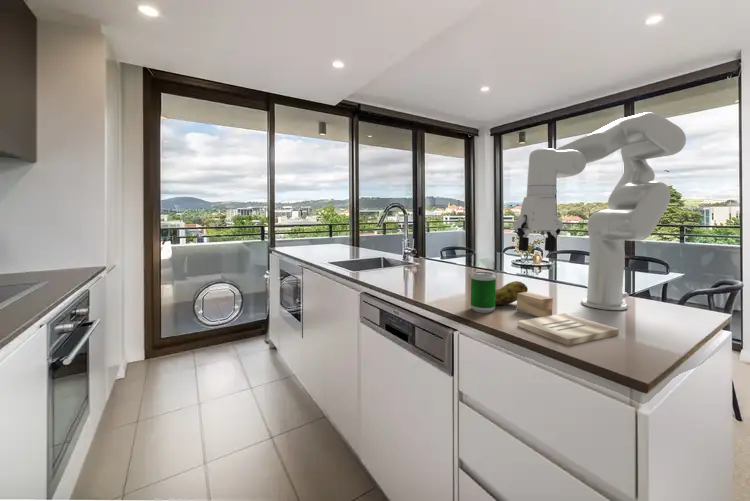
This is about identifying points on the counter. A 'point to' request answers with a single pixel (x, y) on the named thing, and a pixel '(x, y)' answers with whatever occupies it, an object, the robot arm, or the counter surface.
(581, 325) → the board
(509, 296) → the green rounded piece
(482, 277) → the soda can
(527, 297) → the block
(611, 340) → the counter surface
